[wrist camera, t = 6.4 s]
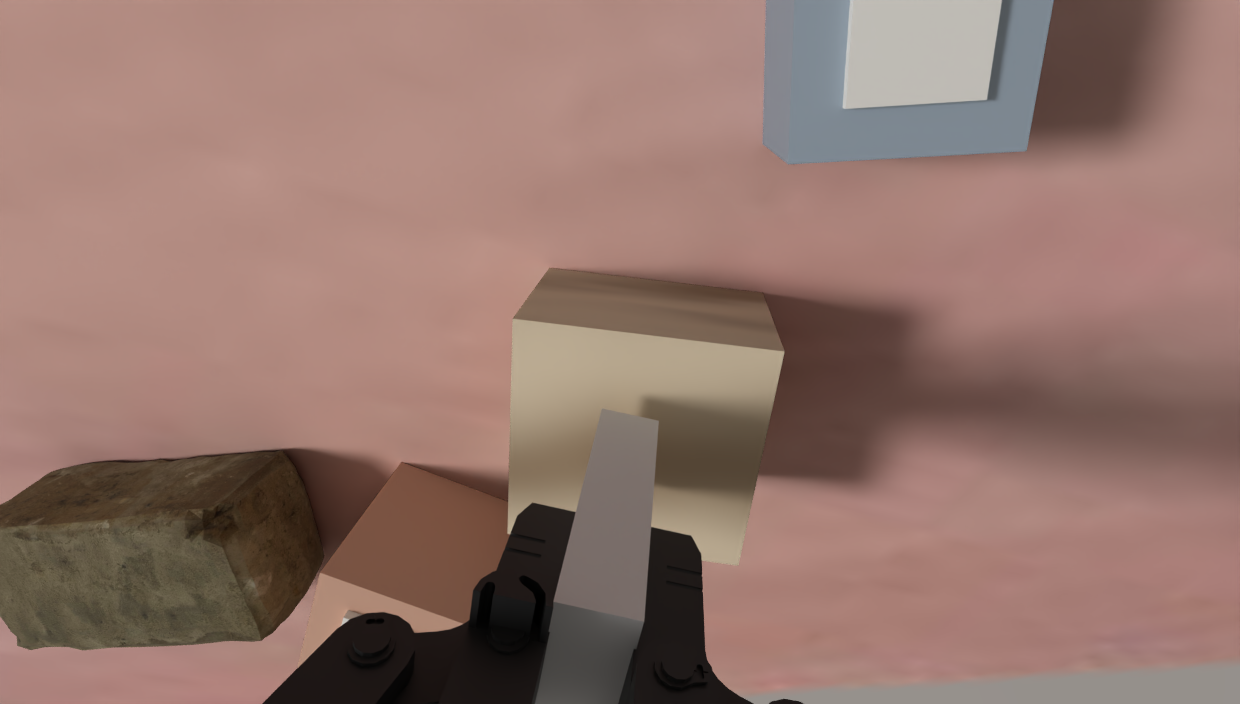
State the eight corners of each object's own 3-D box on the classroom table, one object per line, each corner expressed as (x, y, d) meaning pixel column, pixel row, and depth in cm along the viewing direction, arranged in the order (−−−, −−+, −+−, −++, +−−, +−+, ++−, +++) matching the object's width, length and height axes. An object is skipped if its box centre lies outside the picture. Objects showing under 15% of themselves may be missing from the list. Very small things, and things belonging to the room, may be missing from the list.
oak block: (550, 266, 21) (512, 318, 16) (762, 291, 20) (784, 351, 16) (541, 446, 24) (507, 533, 19) (727, 470, 23) (738, 565, 19)
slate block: (766, -54, 17) (801, -110, 12) (966, -73, 16) (1087, -139, 11) (762, 143, 19) (790, 165, 14) (939, 133, 18) (1033, 152, 13)
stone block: (347, 554, 27) (277, 652, 22) (114, 568, 28) (5, 662, 24) (299, 437, 24) (210, 519, 20) (50, 460, 26) (-84, 541, 22)
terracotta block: (401, 461, 24) (314, 579, 19) (522, 506, 25) (474, 636, 19) (375, 553, 26) (289, 686, 21) (487, 594, 27) (434, 735, 21)
